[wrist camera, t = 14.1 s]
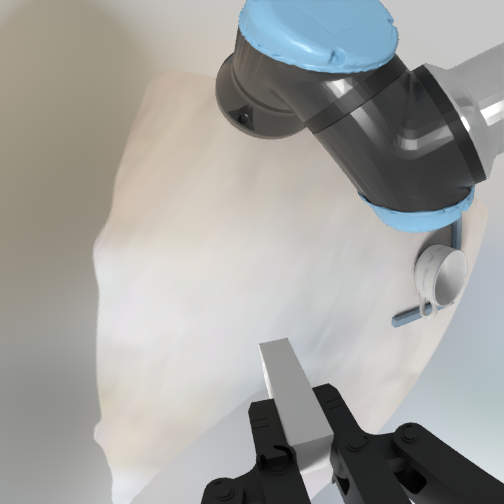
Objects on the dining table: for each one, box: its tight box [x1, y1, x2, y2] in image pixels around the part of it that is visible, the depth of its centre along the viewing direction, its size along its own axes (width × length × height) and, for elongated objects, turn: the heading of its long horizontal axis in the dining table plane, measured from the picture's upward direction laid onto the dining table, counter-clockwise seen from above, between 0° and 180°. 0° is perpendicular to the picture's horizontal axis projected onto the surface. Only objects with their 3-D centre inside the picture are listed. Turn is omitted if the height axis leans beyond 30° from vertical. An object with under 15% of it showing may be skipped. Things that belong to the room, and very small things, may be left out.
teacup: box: [414, 245, 467, 319], centre depth 42 cm, size 14×11×8 cm
